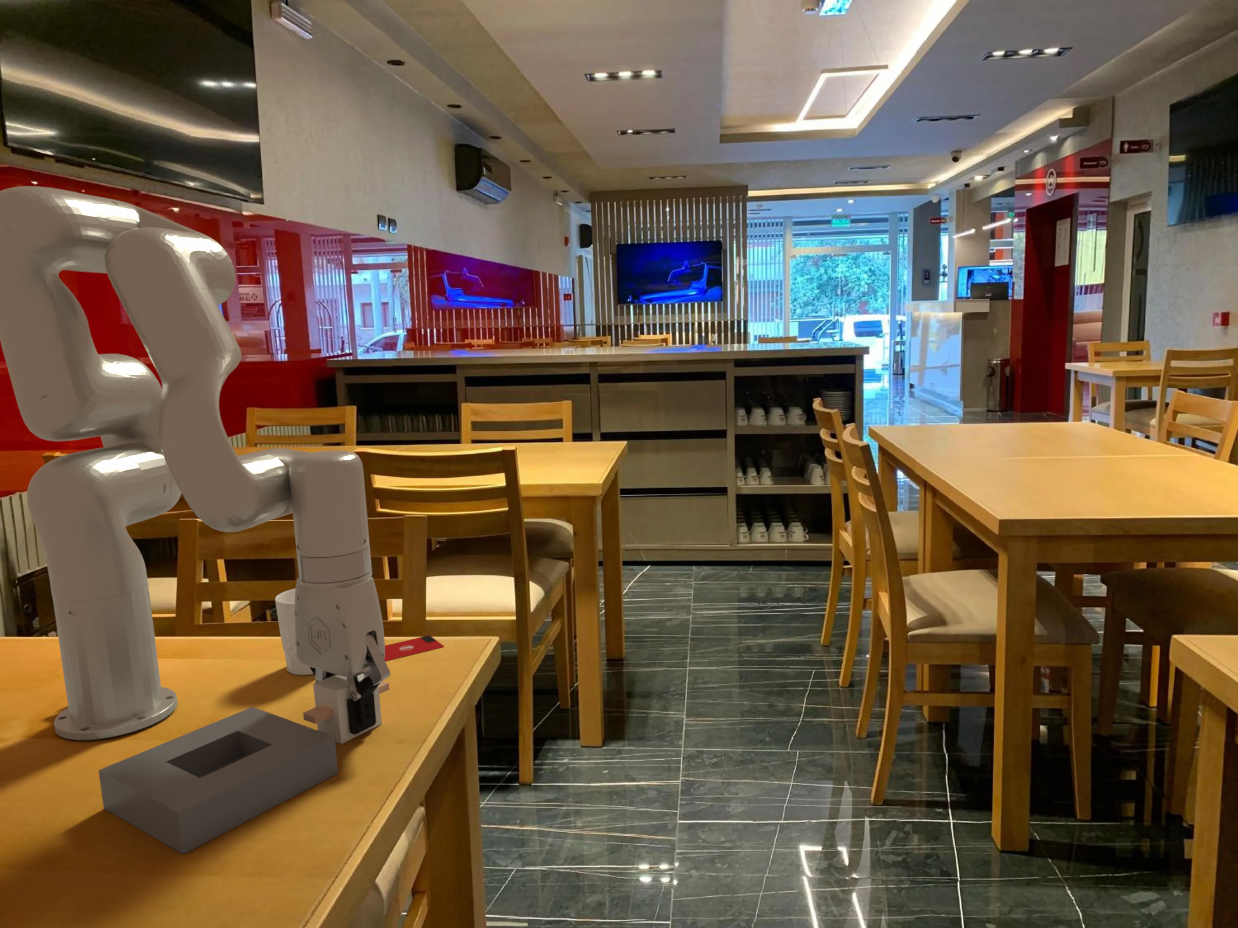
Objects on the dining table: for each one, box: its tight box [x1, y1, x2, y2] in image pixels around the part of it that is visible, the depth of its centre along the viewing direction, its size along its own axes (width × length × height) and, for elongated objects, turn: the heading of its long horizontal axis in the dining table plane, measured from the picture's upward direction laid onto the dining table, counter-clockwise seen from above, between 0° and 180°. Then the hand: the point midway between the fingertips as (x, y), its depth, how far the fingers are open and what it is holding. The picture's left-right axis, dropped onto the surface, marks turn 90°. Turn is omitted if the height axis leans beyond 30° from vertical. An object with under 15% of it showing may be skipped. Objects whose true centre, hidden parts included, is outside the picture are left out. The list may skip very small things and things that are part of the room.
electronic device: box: [384, 634, 445, 662], centre depth 120 cm, size 6×1×15 cm
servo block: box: [302, 673, 390, 745], centre depth 97 cm, size 4×10×6 cm, turn 145°
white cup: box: [274, 587, 314, 676], centre depth 116 cm, size 8×8×10 cm
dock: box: [98, 706, 339, 855], centre depth 85 cm, size 14×16×4 cm
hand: (349, 722), depth 97 cm, fingers closed on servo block, 3 cm apart
